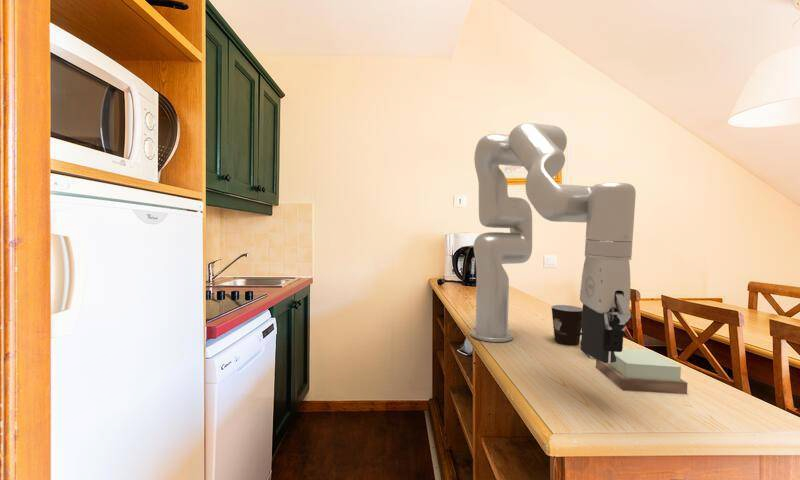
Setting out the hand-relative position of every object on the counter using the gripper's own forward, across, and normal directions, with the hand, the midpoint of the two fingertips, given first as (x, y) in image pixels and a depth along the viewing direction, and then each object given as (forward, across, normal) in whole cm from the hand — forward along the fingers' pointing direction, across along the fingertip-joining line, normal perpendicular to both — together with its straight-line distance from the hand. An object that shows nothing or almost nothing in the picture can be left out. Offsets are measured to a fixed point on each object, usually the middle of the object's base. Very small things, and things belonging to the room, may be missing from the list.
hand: (602, 342), depth 66 cm
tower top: (+9, -10, +12) cm, 18 cm away
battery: (+3, 0, 0) cm, 3 cm away
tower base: (+12, -10, +12) cm, 20 cm away
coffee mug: (+12, -34, +7) cm, 36 cm away
